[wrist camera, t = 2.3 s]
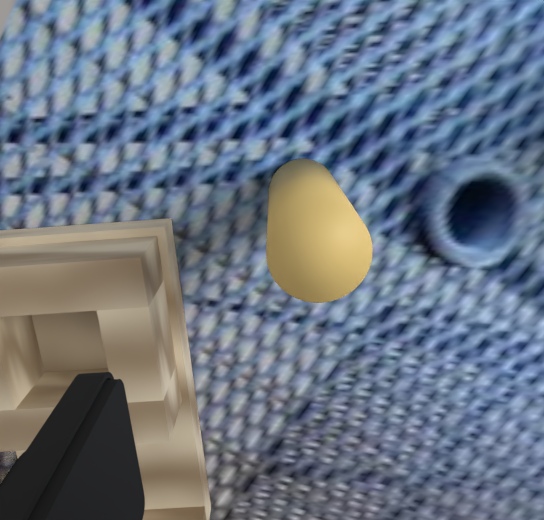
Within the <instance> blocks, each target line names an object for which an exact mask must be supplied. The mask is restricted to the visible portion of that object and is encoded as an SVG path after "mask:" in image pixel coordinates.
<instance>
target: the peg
mask: <svg viewBox="0 0 544 520" xmlns="http://www.w3.org/2000/svg"><path fill="white" fill-rule="evenodd" d="M372 251H373V250H372V241H371V237H370V234H369V232H368V230H367V228H366V226H365V224H364V223H363V221H362V220H361V218H360V217H359V215H358V214H357V212H356V211H355V209H354V208H353V206H352V205H351V203H350V202H349V200H348V199H347V197H346V196H345V194H344V193H343V191H342V190H341V188H340V187H339V185H338V184H337V182H336V181H335V179H334V178H333V176H332V175H331V173H330V172H329V171H328V170H327V169H326V168H325V167H324V166H323V165H322V164H320V163H318V162H316V161H314V160H310V159H295V160H291V161H289V162H287V163H285V164H284V165H282V166H281V167H280V168H279V169H278V170H277V171H276V172H275V174H274V175H273V177H272V179H271V182H270V185H269V196H268V223H267V250H266V254H267V264H268V267H269V271H270V273H271V275H272V277H273V279H274V280H275V282H276V283H277V284H278V285H279V287H281V288H282V289H283V290H284V291H285V292H286V293H288V294H289V295H291V296H293V297H295V298H297V299H300V300H303V301H307V302H314V303H323V302H329V301H333V300H337V299H339V298H342V297H343V296H345V295H347V294H349V293H350V292H352V291H353V290H354V289H355V288H356V287H357V286H358V285H359V284H360V283H361V282H362V281H363V279H364V278H365V276H366V274H367V272H368V270H369V267H370V264H371V260H372Z"/></svg>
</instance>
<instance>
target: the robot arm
mask: <svg viewBox="0 0 544 520" xmlns="http://www.w3.org/2000/svg"><path fill="white" fill-rule="evenodd" d="M144 509H145V496H144V490H143V484H142V479H141V473H140V468H139V463H138V457H137V452H136V446H135V441H134V436H133V430H132V425H131V419H130V414H129V409H128V403H127V398H126V392H125V387H124V383H123V381H122V380H121V379H114V377H113V375H112V374H111V373H110V372H99V373H83V374H78V375H77V376H76V377H75V378H74V380H73V381H72V383H71V384H70V386H69V387H68V389H67V390H66V392H65V393H64V395H63V396H62V398H61V399H60V401H59V402H58V404H57V405H56V407H55V408H54V410H53V411H52V413H51V414H50V416H49V417H48V419H47V420H46V422H45V423H44V425H43V426H42V428H41V429H40V431H39V432H38V433H37V435H36V436H35V438H34V439H33V441H32V442H31V444H30V445H29V447H28V448H27V450H26V451H25V452H23V453H22V455H21V456H20V457H19V458H18V459H17V461H16V462H15V464H14V465H13V467H12V468H11V470H10V471H9V472H8V474H7V475H6V477H5V478H4V480H3V481H2V483H1V484H0V520H142V519H143V515H144Z"/></svg>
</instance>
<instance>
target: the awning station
mask: <svg viewBox="0 0 544 520" xmlns="http://www.w3.org/2000/svg"><path fill="white" fill-rule="evenodd" d="M99 372H110V373H111V374H112V375H113V377H114V379H121V380H122V381H123V383H124V387H125V392H126V398H127V403H128V409H129V414H130V419H131V425H132V430H133V436H134V441H135V446H136V452H137V457H138V463H139V468H140V473H141V479H142V484H143V490H144V496H145V509H144V515H143V519H142V520H209V518H210V511H211V503H210V495H209V488H208V481H207V474H206V466H205V459H204V452H203V445H202V437H201V430H200V423H199V416H198V408H197V401H196V394H195V387H194V379H193V372H192V365H191V358H190V350H189V343H188V336H187V329H186V321H185V314H184V307H183V300H182V292H181V285H180V278H179V271H178V263H177V256H176V249H175V242H174V234H173V227H172V220H171V218H168V219H154V220H140V221H126V222H112V223H97V224H83V225H69V226H55V227H41V228H27V229H13V230H0V452H5V451H16V455H17V458H19V457H20V456H21V455H22V453H23V452H25V451H26V450H27V448H28V447H29V445H30V444H31V442H32V441H33V439H34V438H35V436H36V435H37V433H38V432H39V431H40V429H41V428H42V426H43V425H44V423H45V422H46V420H47V419H48V417H49V416H50V414H51V413H52V411H53V410H54V408H55V407H56V405H57V404H58V402H59V401H60V399H61V398H62V396H63V395H64V393H65V392H66V390H67V389H68V387H69V386H70V384H71V383H72V381H73V380H74V378H75V377H76V376H77V375H78V374H83V373H99Z"/></svg>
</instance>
